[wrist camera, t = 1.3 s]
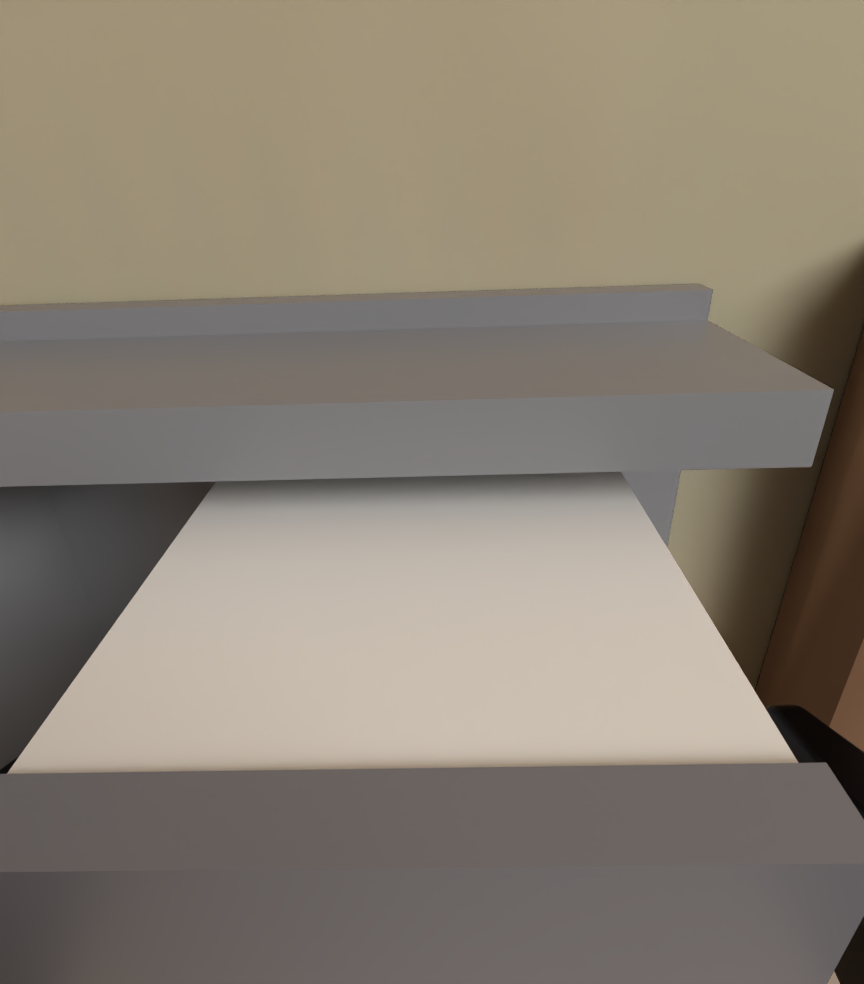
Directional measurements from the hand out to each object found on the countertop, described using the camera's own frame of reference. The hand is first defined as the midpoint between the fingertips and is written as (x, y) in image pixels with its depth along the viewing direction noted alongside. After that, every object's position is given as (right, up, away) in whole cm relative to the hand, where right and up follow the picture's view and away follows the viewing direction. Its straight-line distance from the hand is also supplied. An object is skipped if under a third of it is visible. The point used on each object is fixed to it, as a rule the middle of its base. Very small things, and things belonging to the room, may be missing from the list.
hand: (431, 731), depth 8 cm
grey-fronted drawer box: (0, +1, +2) cm, 3 cm away
